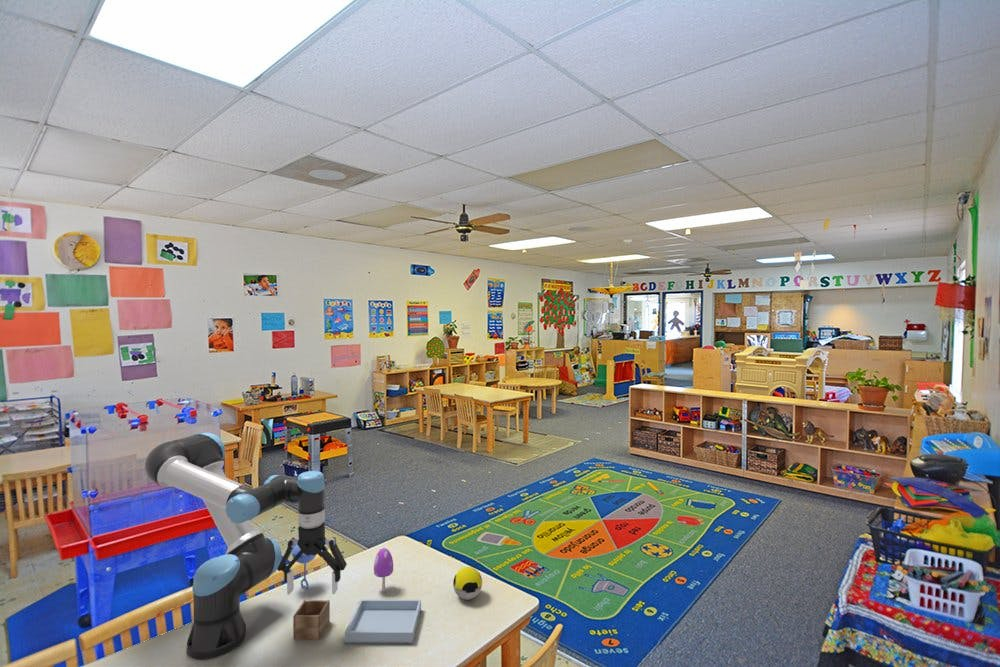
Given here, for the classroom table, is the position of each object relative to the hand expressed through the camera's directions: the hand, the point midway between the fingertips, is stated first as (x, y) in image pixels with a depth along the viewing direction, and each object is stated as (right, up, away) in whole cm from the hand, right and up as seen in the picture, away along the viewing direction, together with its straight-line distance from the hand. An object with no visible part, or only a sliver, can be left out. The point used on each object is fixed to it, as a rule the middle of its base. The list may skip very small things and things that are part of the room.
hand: (312, 591), depth 142 cm
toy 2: (+46, -12, +18) cm, 51 cm away
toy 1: (+16, -12, +22) cm, 30 cm away
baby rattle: (-12, -12, +22) cm, 28 cm away
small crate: (0, -12, +1) cm, 12 cm away
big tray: (+22, -12, +3) cm, 25 cm away
